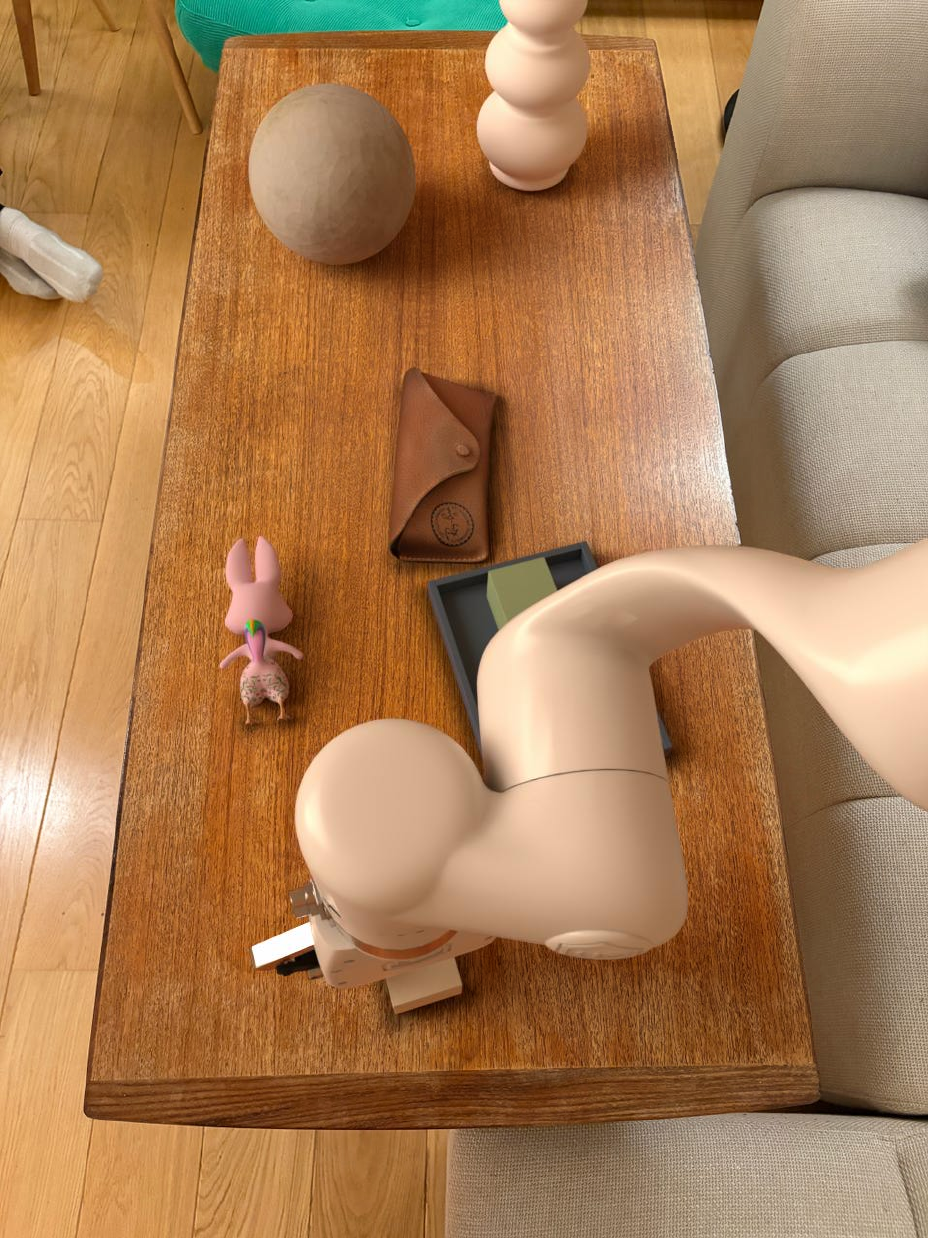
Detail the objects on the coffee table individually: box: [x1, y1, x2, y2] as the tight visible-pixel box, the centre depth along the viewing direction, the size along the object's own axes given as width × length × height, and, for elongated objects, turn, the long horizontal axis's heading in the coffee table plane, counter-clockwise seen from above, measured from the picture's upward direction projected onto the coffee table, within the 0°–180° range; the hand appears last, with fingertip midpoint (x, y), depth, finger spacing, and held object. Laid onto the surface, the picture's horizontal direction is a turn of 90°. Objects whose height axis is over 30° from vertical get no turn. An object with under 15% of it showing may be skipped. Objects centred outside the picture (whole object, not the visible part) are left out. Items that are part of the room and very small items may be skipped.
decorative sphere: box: [248, 83, 417, 266], centre depth 91 cm, size 15×15×15 cm
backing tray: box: [427, 540, 674, 761], centre depth 76 cm, size 13×18×2 cm
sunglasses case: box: [388, 366, 497, 564], centre depth 84 cm, size 18×7×7 cm
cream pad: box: [385, 957, 463, 1015], centre depth 66 cm, size 4×7×4 cm, turn 17°
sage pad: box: [487, 557, 557, 630], centre depth 77 cm, size 4×7×4 cm, turn 17°
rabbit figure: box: [219, 535, 304, 726], centre depth 76 cm, size 6×6×15 cm
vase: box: [476, 0, 591, 192], centre depth 92 cm, size 11×11×25 cm
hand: (406, 939), depth 64 cm, fingers open, 9 cm apart
